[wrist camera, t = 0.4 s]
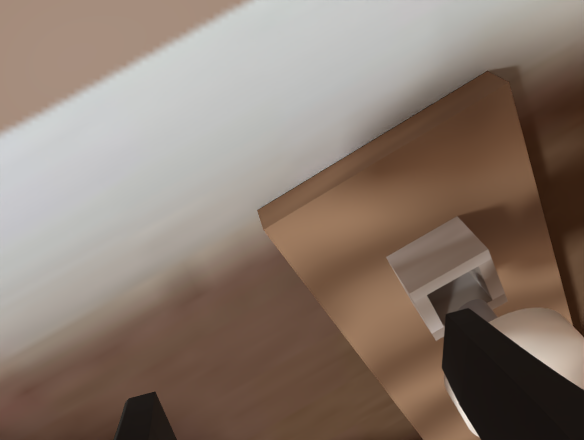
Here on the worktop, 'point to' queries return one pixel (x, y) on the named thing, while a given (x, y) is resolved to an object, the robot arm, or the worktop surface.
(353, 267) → the stand
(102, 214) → the worktop surface
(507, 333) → the plunger
